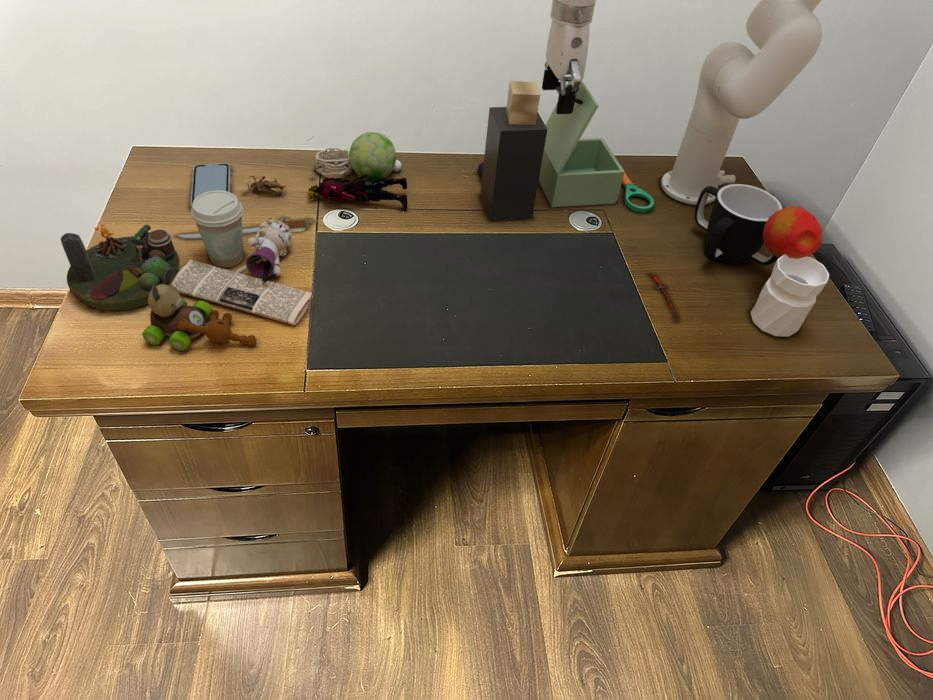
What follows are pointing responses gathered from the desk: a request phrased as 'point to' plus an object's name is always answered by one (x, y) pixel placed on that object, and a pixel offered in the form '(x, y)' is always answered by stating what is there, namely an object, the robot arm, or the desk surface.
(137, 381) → the desk surface
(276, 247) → the toy
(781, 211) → the apple
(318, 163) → the bracelet
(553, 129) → the lid
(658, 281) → the katana
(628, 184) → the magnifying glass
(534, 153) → the block
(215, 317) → the toy figurine
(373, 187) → the action figure
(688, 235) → the desk surface
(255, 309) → the newspaper
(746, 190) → the mug
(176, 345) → the toy car
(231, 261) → the coffee cup
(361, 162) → the decorative ball
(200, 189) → the smartphone
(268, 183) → the insect
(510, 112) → the block
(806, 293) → the vase
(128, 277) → the toy scene
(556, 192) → the storage box
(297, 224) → the sword
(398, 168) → the spheres
